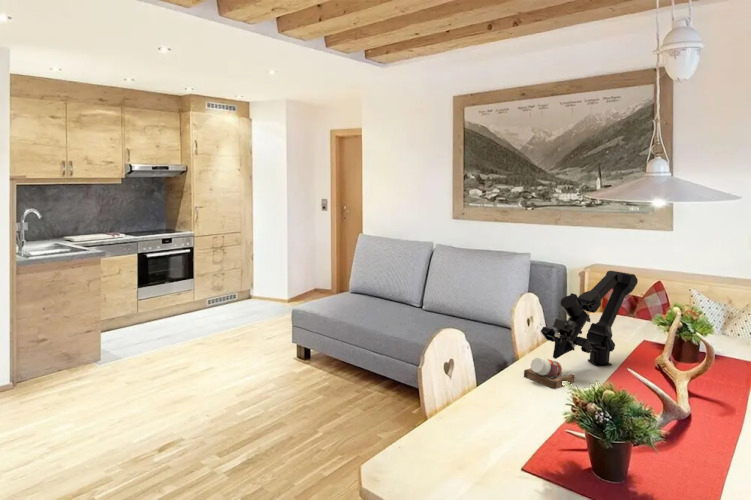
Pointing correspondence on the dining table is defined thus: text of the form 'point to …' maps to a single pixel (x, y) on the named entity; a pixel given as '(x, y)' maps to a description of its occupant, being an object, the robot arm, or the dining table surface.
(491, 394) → the dining table surface
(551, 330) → the robot arm
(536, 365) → the pill bottle
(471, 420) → the dining table surface
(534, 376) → the brown wooden tray
